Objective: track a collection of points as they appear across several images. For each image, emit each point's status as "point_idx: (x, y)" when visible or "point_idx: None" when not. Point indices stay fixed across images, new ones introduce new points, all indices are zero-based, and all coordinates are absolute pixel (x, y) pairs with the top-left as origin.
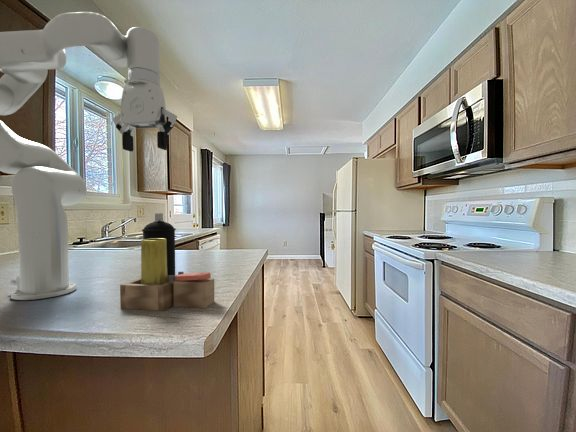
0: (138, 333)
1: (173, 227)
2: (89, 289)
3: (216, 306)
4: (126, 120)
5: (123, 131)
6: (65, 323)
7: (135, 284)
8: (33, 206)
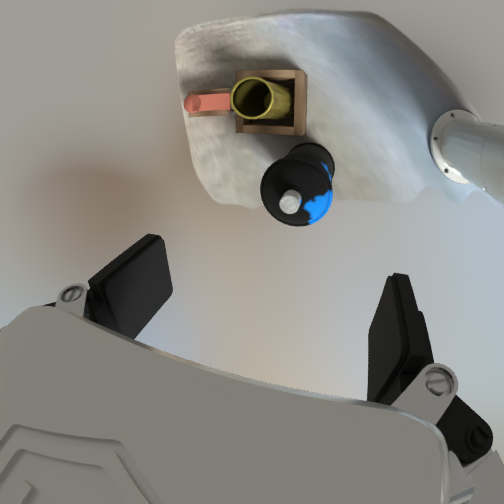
0: (234, 22)
1: (266, 203)
2: (417, 163)
3: None
4: (356, 436)
5: (422, 380)
6: (332, 29)
7: (282, 74)
8: None
